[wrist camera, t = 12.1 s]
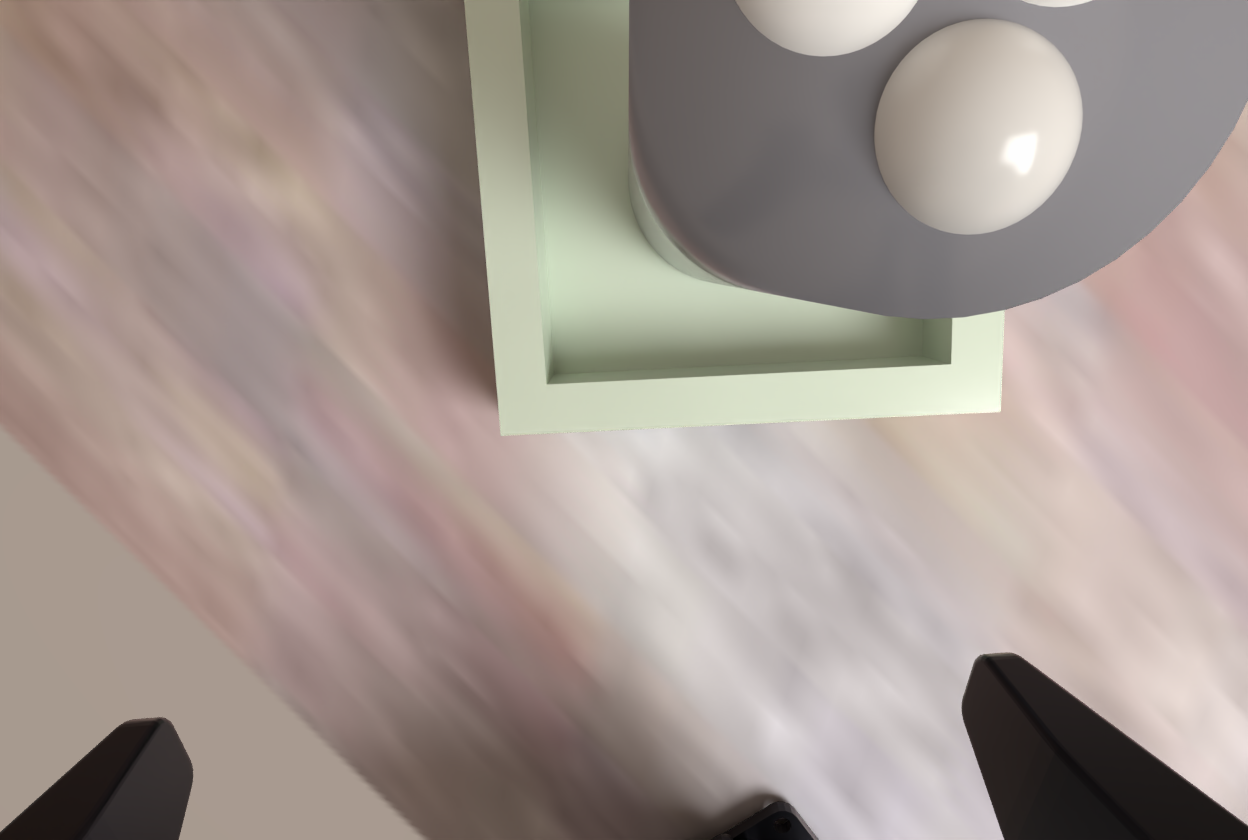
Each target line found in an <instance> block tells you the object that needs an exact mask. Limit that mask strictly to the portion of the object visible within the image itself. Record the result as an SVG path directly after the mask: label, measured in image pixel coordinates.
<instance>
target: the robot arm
mask: <svg viewBox="0 0 1248 840" xmlns="http://www.w3.org/2000/svg"><path fill="white" fill-rule="evenodd" d="M962 716H963V720H964V724H965V727H966V730H967V733H968V736H969V738H970V741H971V744H972V747H973V750H974V753H975V756H976V759H977V762H978V765H979V768H980V770H981V773H982V776H983V779H984V782H985V785H986V788H987V791H988V794H989V797H990V800H991V802H992V805H993V808H994V811H995V814H996V817H997V820H998V823H999V826H1000V829H1001V831H1002V834H1003V837H1004V840H1248V825H1246V824H1245V823H1244V822H1242V821H1241V820H1240V819H1238V818H1237V817H1236V816H1234V815H1233V814H1232V813H1230V812H1229V811H1228V810H1226V809H1225V808H1224V807H1222V806H1221V805H1220V804H1218V803H1217V802H1216V801H1214V800H1213V799H1212V798H1210V797H1209V796H1208V795H1206V794H1205V793H1204V792H1202V791H1201V790H1199V789H1198V788H1197V787H1195V786H1194V785H1193V784H1191V783H1190V782H1189V781H1187V780H1186V779H1185V778H1183V777H1182V776H1181V775H1179V774H1178V773H1177V772H1175V771H1174V770H1173V769H1171V768H1170V767H1169V766H1167V765H1166V764H1165V763H1163V762H1162V761H1161V760H1159V759H1158V758H1157V757H1155V756H1154V755H1152V754H1151V753H1150V752H1148V751H1147V750H1146V749H1144V748H1143V747H1142V746H1140V745H1139V744H1138V743H1136V742H1135V741H1134V740H1132V739H1131V738H1130V737H1128V736H1127V735H1126V734H1124V733H1123V732H1122V731H1120V730H1119V729H1118V728H1116V727H1115V726H1114V725H1112V724H1111V723H1110V722H1108V721H1107V720H1106V719H1104V718H1103V717H1101V716H1100V715H1099V714H1097V713H1096V712H1095V711H1093V710H1092V709H1091V708H1089V707H1088V706H1087V705H1085V704H1084V703H1083V702H1081V701H1080V700H1079V699H1077V698H1076V697H1075V696H1073V695H1072V694H1071V693H1069V692H1068V691H1067V690H1065V689H1064V688H1063V687H1061V686H1060V685H1059V684H1057V683H1056V682H1054V681H1053V680H1052V679H1050V678H1049V677H1048V676H1046V675H1045V674H1044V673H1042V672H1041V671H1040V670H1038V669H1037V668H1036V667H1034V666H1033V665H1032V664H1030V663H1029V662H1028V661H1026V660H1025V659H1024V658H1022V657H1021V656H1019V655H1017V654H1014V653H1007V652H1006V653H993V654H983V655H980V656H979V657H978V658H977V659H976V660H975V662H974V664H973V667H972V670H971V674H970V677H969V680H968V683H967V686H966V689H965V693H964V696H963V699H962ZM192 782H193V768H192V763H191V760H190V758H189V756H188V754H187V752H186V750H185V748H184V746H183V744H182V742H181V740H180V738H179V736H178V734H177V732H176V730H175V729H174V726H173V724H172V723H171V722H170V721H169V720H167V719H166V718H162V717H159V718H146V719H134V720H129V721H126V722H124V723H123V724H121V725H119V726H118V727H117V728H116V729H115V730H113V732H111V733H110V734H109V735H108V736H107V737H106V738H105V739H103V741H101V742H100V743H99V744H98V745H97V746H96V747H95V748H93V749H92V750H91V751H90V752H89V753H88V754H87V755H86V756H85V757H83V758H82V759H81V760H80V761H79V762H78V763H77V764H76V765H75V766H73V767H72V768H71V769H70V770H69V771H68V772H67V773H66V774H64V776H62V777H61V778H60V779H59V780H58V781H57V782H56V783H54V785H52V786H51V787H50V788H49V789H48V790H47V791H46V792H44V793H43V794H42V795H41V796H40V797H39V798H38V799H37V800H35V801H34V802H33V803H32V804H31V805H30V806H29V807H28V808H27V809H25V810H24V811H23V812H22V813H21V814H20V815H19V816H18V817H16V818H15V819H14V820H13V821H12V822H11V823H10V824H9V825H8V826H6V827H5V828H4V829H3V830H2V831H1V832H0V840H179V836H180V832H181V828H182V824H183V820H184V816H185V812H186V807H187V803H188V799H189V795H190V791H191V787H192ZM781 818H785V819H787V821H786V822H785V823H783V824H777V823H775V822H776V821H777V820H778V819H781ZM712 840H818V838H817V837H816V836H815V835H814V833H813V832H812V831H811V829H810V828H809V827H808V825H807V824H806V823H805V822H804V820H803V819H802V818H801V816H800V815H799V814H798V812H797V811H796V810H795V808H794V807H792V806H791V805H790V804H788V803H785V802H775V803H773V804H770V805H769V806H767V807H766V808H764V809H762V810H761V811H759V812H758V813H756V814H754V815H753V816H751V817H749V818H748V819H746V820H745V821H743V822H741V823H740V824H738V825H736V826H735V827H733V828H732V829H730V830H728V831H727V832H725V833H723V834H722V835H718V836H716V837H715V838H713V839H712Z"/></svg>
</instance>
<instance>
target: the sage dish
mask: <svg viewBox="0 0 1248 840" xmlns="http://www.w3.org/2000/svg"><path fill="white" fill-rule="evenodd" d="M464 6H465V18H466V30H467V41H468V53H469V65H470V77H471V89H472V101H473V113H474V125H475V137H476V148H477V160H478V172H479V184H480V196H481V208H482V220H483V232H484V244H485V255H486V267H487V279H488V291H489V303H490V315H491V327H492V339H493V351H494V362H495V374H496V386H497V398H498V410H499V422H500V434H501V436H509V435H530V434H551V433H571V432H592V431H613V430H634V429H654V428H675V427H696V426H717V425H737V424H758V423H779V422H800V421H821V420H841V419H862V418H883V417H904V416H924V415H945V414H966V413H987V412H1001V389H1002V364H1003V338H1004V312H1005V310H1003V311H997V312H991V313H986V314H980V315H974V316H969V317H962V318H940V319H915V318H904V317H892V316H883V315H878V314H872V313H867V312H862V311H857V310H851V309H846V308H841V307H836V306H830V305H825V304H820V303H815V302H809V301H804V300H799V299H794V298H788V297H783V296H778V295H773V294H767V293H762V292H757V291H752V290H746V289H741V288H736V287H730V286H725V285H720V284H715V283H710V282H706V281H701V280H698V279H696V278H693V277H690V276H688V275H686V274H684V273H682V272H680V271H679V270H677V269H675V268H674V267H673V266H671V265H670V264H668V263H667V262H666V261H665V260H664V259H663V258H662V257H660V256H659V255H658V254H657V253H656V252H655V250H654V249H653V248H652V247H651V245H650V244H649V243H648V242H647V240H646V238H645V237H644V235H643V234H642V232H641V230H640V228H639V226H638V224H637V221H636V219H635V216H634V213H633V210H632V207H631V202H630V196H629V188H628V104H629V0H464Z"/></svg>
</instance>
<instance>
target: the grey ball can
mask: <svg viewBox="0 0 1248 840" xmlns="http://www.w3.org/2000/svg"><path fill="white" fill-rule="evenodd" d="M1247 101H1248V0H629V104H628V188H629V196H630V202H631V207H632V210H633V213H634V216H635V219H636V221H637V224H638V226H639V228H640V230H641V232H642V234H643V235H644V237H645V238H646V240H647V242H648V243H649V244H650V245H651V247H652V248H653V249H654V250H655V252H656V253H657V254H658V255H659V256H660V257H662V258H663V259H664V260H665V261H666V262H667V263H668V264H670V265H671V266H673V267H674V268H675V269H677V270H679V271H680V272H682V273H684V274H686V275H688V276H690V277H693V278H696V279H698V280H701V281H706V282H710V283H715V284H720V285H725V286H730V287H736V288H741V289H746V290H752V291H757V292H762V293H767V294H773V295H778V296H783V297H788V298H794V299H799V300H804V301H809V302H815V303H820V304H825V305H830V306H836V307H841V308H846V309H851V310H857V311H862V312H867V313H872V314H878V315H883V316H892V317H904V318H915V319H940V318H962V317H969V316H974V315H980V314H986V313H991V312H997V311H1003V310H1006V309H1009V308H1013V307H1016V306H1019V305H1022V304H1025V303H1029V302H1032V301H1035V300H1038V299H1041V298H1044V297H1046V296H1048V295H1050V294H1053V293H1055V292H1057V291H1059V290H1062V289H1064V288H1066V287H1068V286H1070V285H1073V284H1075V283H1077V282H1079V281H1081V280H1083V279H1084V278H1086V277H1088V276H1089V275H1091V274H1093V273H1094V272H1096V271H1098V270H1099V269H1101V268H1103V267H1104V266H1106V265H1107V264H1109V263H1111V262H1112V261H1114V260H1116V259H1117V258H1118V257H1120V256H1121V255H1122V254H1124V253H1125V252H1126V251H1127V250H1129V249H1130V248H1131V247H1132V246H1134V245H1135V244H1136V243H1138V242H1139V241H1140V240H1141V239H1143V238H1144V237H1145V236H1147V235H1148V234H1149V233H1150V232H1151V231H1152V230H1153V229H1154V228H1155V227H1156V226H1157V225H1158V224H1159V223H1161V222H1162V221H1163V220H1164V219H1165V218H1166V217H1167V216H1168V215H1169V214H1170V213H1171V212H1172V211H1173V210H1174V209H1175V208H1176V207H1177V206H1178V205H1179V204H1180V203H1181V202H1182V201H1183V199H1184V198H1185V197H1186V196H1187V194H1188V193H1189V192H1190V191H1191V189H1192V188H1193V187H1194V186H1195V184H1196V183H1197V182H1198V181H1199V179H1200V178H1201V177H1202V176H1203V175H1204V173H1205V172H1206V171H1207V170H1208V168H1209V167H1210V166H1211V164H1212V162H1213V161H1214V159H1215V158H1216V156H1217V155H1218V153H1219V151H1220V150H1221V148H1222V147H1223V145H1224V143H1225V142H1226V140H1227V139H1228V137H1229V136H1230V134H1231V132H1232V131H1233V129H1234V127H1235V125H1236V123H1237V121H1238V119H1239V117H1240V115H1241V113H1242V111H1243V109H1244V107H1245V105H1246V103H1247Z"/></svg>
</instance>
